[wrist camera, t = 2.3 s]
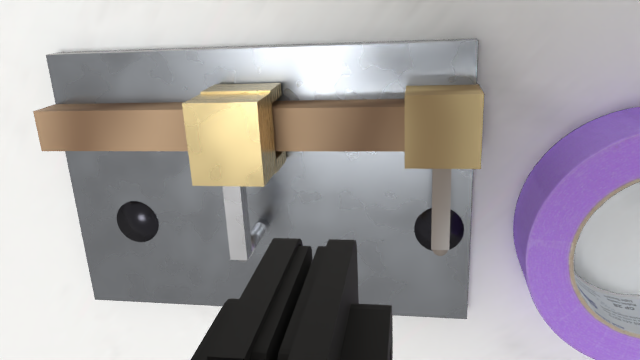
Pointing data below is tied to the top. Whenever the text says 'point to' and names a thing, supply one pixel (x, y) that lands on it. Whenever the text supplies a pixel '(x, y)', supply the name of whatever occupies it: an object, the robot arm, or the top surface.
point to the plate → (280, 191)
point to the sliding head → (234, 151)
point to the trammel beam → (305, 132)
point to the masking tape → (565, 227)
